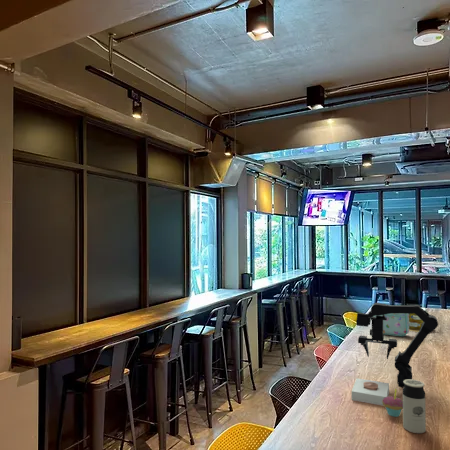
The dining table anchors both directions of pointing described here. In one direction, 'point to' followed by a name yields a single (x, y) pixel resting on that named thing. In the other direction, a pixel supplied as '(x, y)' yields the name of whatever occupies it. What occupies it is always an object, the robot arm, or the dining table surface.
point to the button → (370, 385)
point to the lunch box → (396, 324)
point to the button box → (369, 392)
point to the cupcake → (393, 405)
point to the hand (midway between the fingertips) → (377, 357)
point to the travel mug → (414, 406)
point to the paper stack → (415, 322)
